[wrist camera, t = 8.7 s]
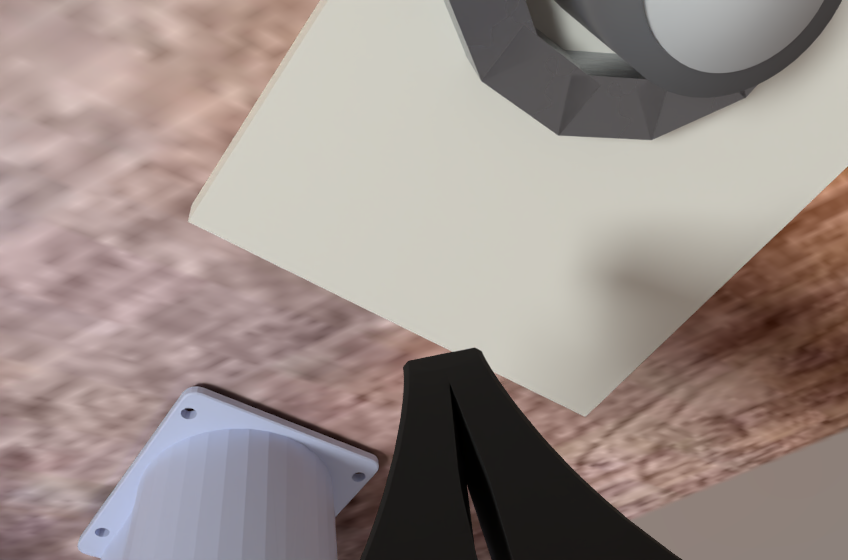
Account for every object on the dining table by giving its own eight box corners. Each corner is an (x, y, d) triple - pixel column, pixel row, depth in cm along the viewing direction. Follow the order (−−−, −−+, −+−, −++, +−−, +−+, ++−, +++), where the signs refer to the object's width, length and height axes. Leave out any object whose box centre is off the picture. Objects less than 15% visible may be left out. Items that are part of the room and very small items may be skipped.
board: (576, 398, 29) (585, 416, 28) (191, 204, 22) (188, 221, 21) (1047, -61, 21) (1076, -54, 21) (681, -577, 14) (705, -596, 14)
